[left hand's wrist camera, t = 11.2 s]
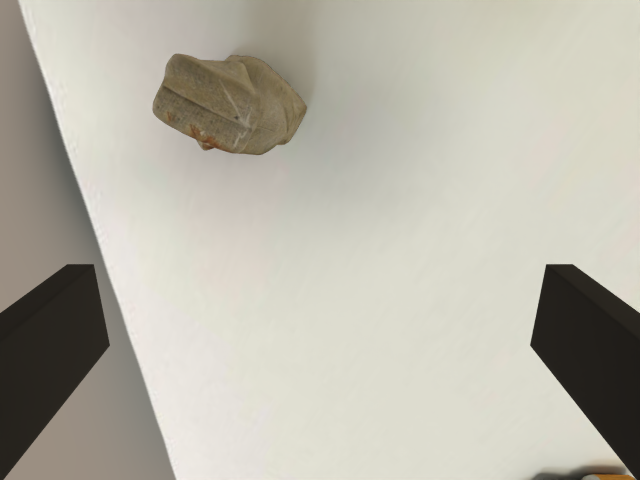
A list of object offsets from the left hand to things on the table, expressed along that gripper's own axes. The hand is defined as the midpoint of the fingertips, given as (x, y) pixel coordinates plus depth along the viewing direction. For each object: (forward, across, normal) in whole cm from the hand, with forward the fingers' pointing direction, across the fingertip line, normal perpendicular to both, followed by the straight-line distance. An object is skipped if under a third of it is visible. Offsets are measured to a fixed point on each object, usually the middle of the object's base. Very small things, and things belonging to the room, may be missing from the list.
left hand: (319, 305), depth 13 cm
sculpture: (+25, -5, +5) cm, 26 cm away
